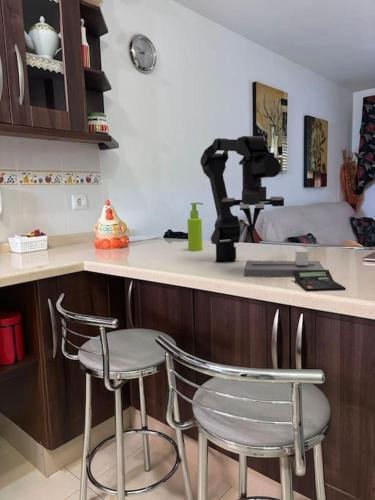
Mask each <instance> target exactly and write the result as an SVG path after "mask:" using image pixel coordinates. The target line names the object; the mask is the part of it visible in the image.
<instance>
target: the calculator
mask: <svg viewBox="0 0 375 500" xmlns="http://www.w3.org/2000/svg"><path fill="white" fill-rule="evenodd" d="M293 275H294V277H293V278H294V281H295V282H296V285H297V286H299V287H300V288H301V289H303V290H304V291H305V292H327V291H329V292H332V291H346V290H347V289H346V287H345V286H343V285H342V284H340V283H338V281H337V282H336V281H335V280H334V279H333V277H332V274H331V273H330V270H329V269H325V270H306V271H293Z"/></svg>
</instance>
